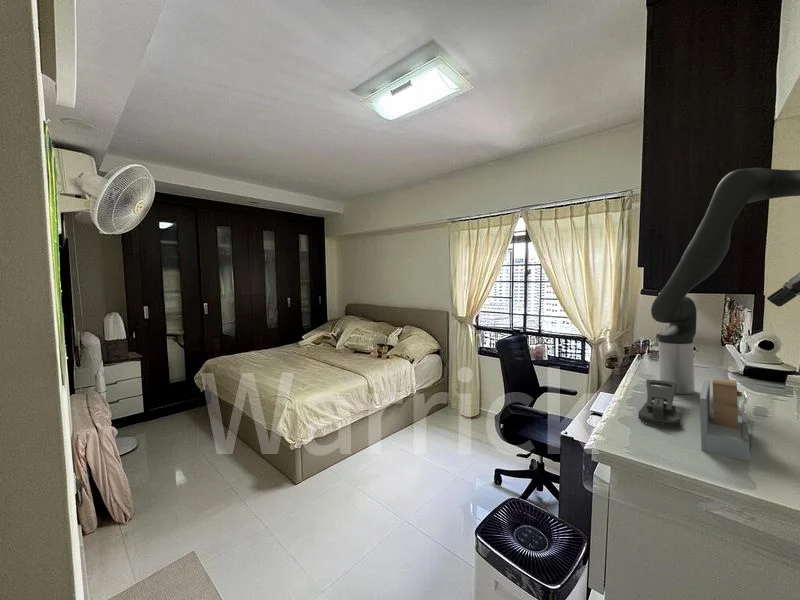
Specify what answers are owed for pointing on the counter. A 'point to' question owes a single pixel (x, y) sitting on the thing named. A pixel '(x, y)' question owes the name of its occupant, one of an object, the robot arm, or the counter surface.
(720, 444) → the board
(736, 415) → the cabinet
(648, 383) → the zipper pull
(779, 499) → the counter surface
